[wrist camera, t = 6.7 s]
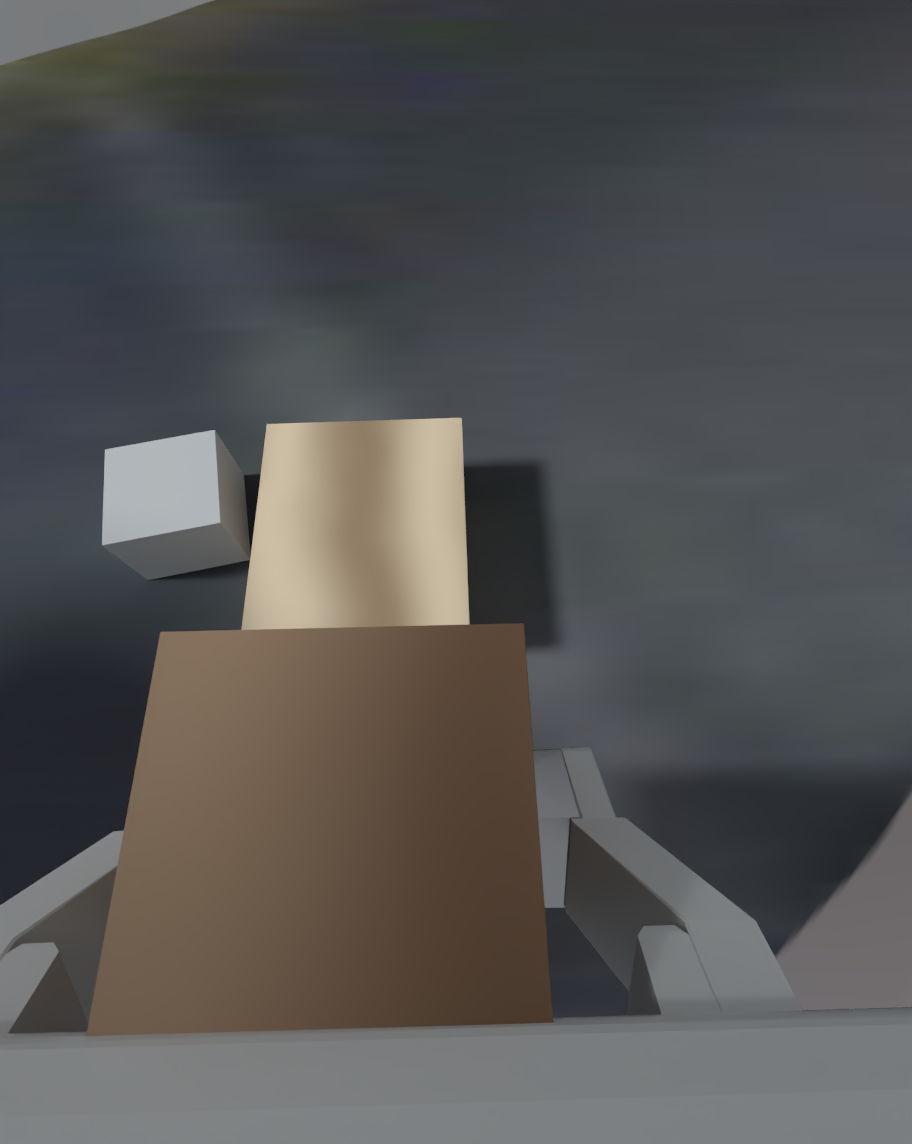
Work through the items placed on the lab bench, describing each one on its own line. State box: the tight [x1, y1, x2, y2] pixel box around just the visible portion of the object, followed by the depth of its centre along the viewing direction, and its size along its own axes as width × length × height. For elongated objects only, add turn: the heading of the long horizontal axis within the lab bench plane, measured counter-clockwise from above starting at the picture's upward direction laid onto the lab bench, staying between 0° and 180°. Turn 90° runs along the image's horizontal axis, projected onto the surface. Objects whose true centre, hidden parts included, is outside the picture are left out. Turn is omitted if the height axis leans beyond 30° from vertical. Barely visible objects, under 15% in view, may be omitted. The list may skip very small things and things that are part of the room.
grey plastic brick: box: [102, 430, 251, 580], centre depth 27 cm, size 5×5×4 cm
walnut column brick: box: [86, 623, 553, 1036], centre depth 10 cm, size 4×4×10 cm
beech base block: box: [241, 418, 469, 630], centre depth 26 cm, size 9×10×4 cm
